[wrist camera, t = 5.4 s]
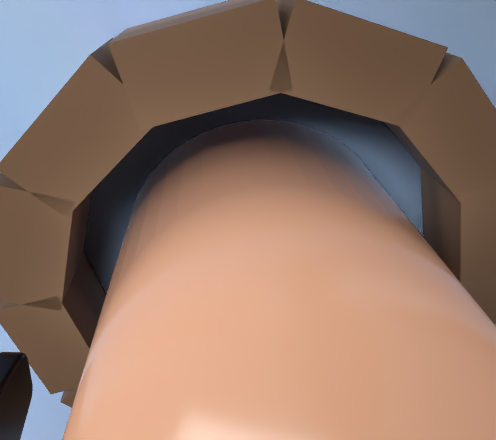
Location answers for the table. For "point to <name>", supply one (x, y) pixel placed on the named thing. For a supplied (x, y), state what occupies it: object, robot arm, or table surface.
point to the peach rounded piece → (281, 306)
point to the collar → (217, 97)
